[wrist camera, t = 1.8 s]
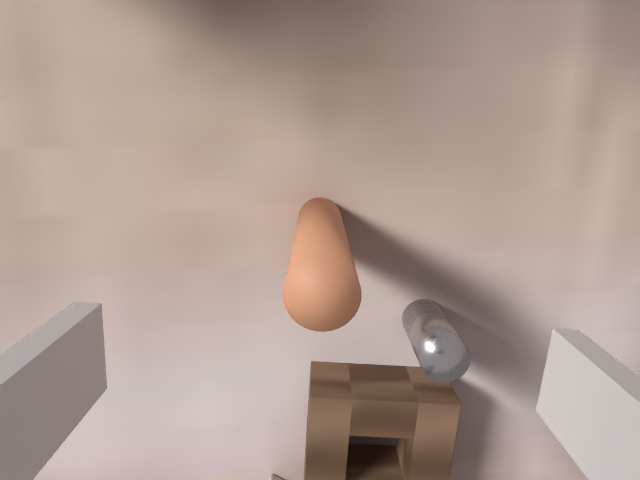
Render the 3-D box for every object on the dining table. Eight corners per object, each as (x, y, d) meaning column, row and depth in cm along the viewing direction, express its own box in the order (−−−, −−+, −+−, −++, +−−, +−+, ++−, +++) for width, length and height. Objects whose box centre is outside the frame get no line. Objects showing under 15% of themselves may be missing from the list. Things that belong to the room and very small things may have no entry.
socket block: (311, 361, 33) (310, 397, 29) (442, 368, 33) (460, 404, 29) (304, 471, 36) (302, 519, 31) (426, 477, 36) (441, 525, 32)
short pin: (404, 298, 32) (423, 337, 26) (445, 300, 32) (473, 339, 26) (400, 335, 33) (417, 381, 27) (440, 337, 33) (466, 383, 27)
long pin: (299, 196, 30) (285, 256, 17) (343, 199, 30) (364, 260, 17) (297, 239, 31) (281, 329, 17) (339, 241, 31) (357, 333, 17)
